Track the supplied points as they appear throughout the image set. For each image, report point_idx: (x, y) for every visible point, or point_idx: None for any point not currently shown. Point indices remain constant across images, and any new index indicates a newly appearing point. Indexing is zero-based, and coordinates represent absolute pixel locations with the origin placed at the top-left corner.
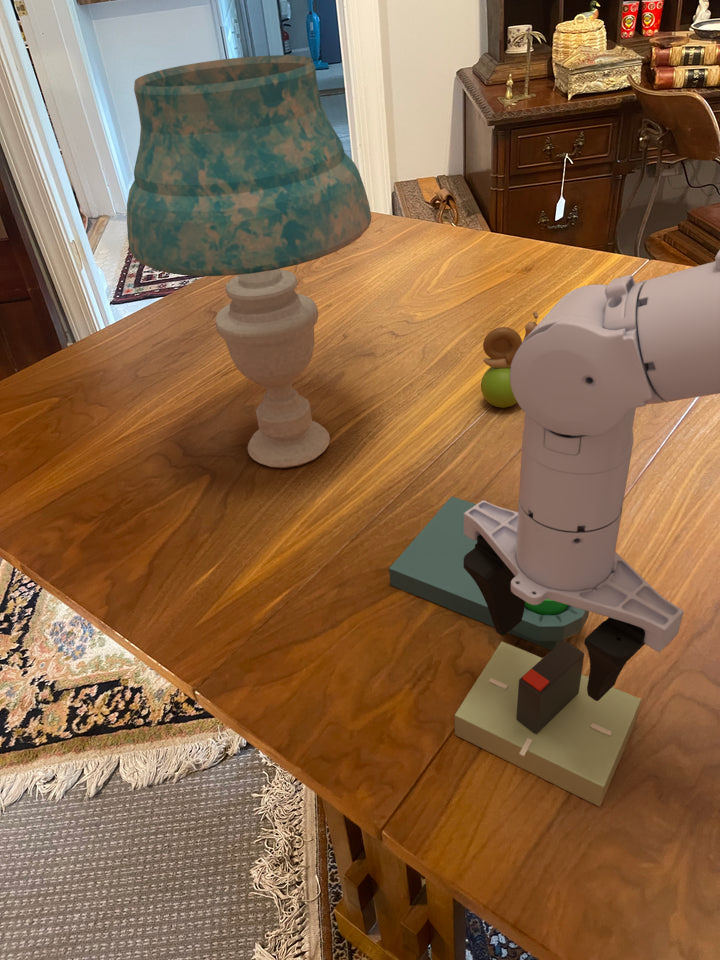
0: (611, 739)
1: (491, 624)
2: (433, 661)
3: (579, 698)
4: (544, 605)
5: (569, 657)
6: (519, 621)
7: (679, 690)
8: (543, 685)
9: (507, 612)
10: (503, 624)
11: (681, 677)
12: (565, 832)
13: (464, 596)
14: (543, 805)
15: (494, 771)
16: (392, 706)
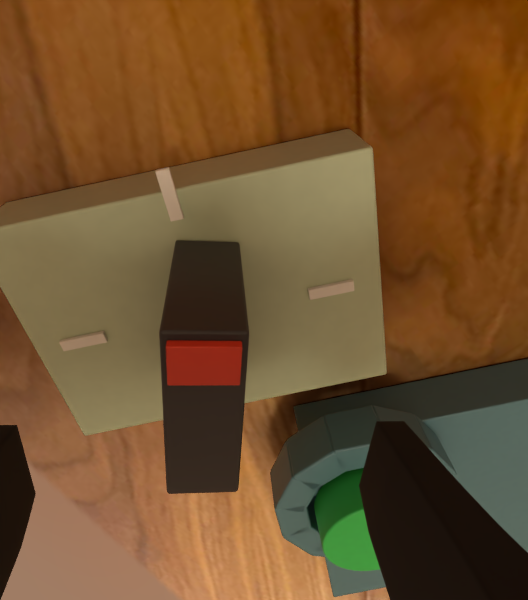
0: (52, 336)
1: (426, 382)
2: (489, 248)
3: None
4: (351, 497)
5: (186, 466)
6: (362, 484)
7: (91, 465)
8: (170, 363)
9: (410, 527)
10: (397, 471)
11: (106, 482)
12: (4, 99)
13: (512, 405)
14: (84, 121)
15: (220, 114)
16: (522, 84)
